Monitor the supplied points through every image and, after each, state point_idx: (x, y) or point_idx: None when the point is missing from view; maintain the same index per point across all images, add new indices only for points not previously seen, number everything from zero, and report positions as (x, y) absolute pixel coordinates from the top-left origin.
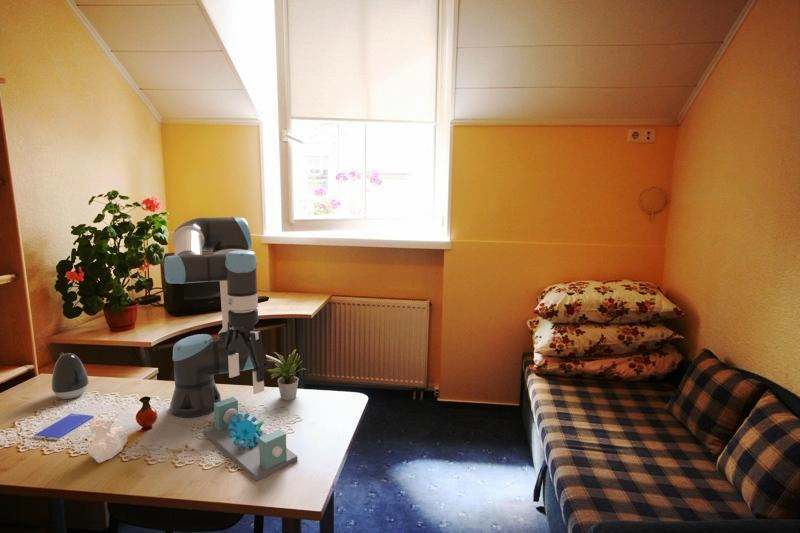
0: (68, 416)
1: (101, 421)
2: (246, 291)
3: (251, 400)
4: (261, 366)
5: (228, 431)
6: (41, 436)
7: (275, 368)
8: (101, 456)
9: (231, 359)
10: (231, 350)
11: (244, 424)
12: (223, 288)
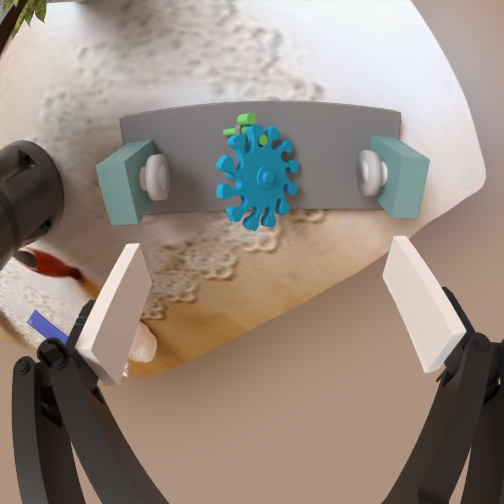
0: (32, 326)
1: None
2: None
3: (49, 72)
4: (498, 379)
5: (177, 175)
6: None
7: (4, 6)
8: (153, 344)
9: (120, 357)
10: (110, 415)
11: (252, 180)
12: None
